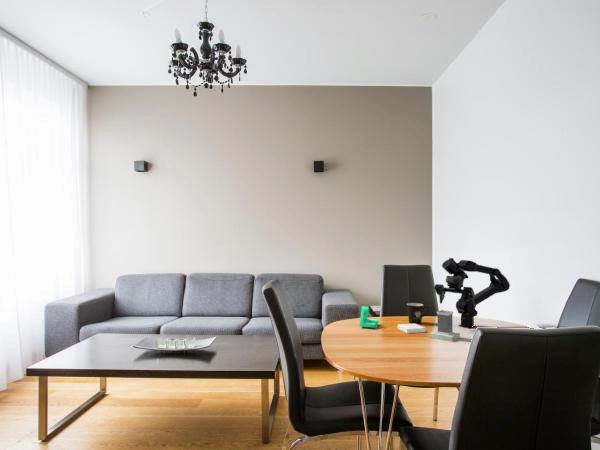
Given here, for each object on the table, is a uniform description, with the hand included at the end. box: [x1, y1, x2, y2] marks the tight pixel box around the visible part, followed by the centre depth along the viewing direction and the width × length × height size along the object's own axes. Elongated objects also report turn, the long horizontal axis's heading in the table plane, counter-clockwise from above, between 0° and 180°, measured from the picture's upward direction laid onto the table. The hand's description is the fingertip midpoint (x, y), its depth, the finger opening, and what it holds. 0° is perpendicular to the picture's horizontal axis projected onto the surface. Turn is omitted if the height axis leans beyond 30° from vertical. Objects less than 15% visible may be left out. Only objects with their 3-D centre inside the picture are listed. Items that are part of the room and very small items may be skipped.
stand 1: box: [396, 323, 427, 334], centre depth 197 cm, size 10×10×2 cm
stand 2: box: [429, 329, 461, 342], centre depth 183 cm, size 10×10×2 cm
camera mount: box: [359, 305, 379, 329], centre depth 206 cm, size 12×8×10 cm, turn 159°
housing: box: [436, 309, 454, 335], centre depth 184 cm, size 6×6×10 cm
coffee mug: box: [406, 302, 430, 325], centre depth 213 cm, size 12×9×10 cm
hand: (449, 304), depth 194 cm, fingers open, 9 cm apart
